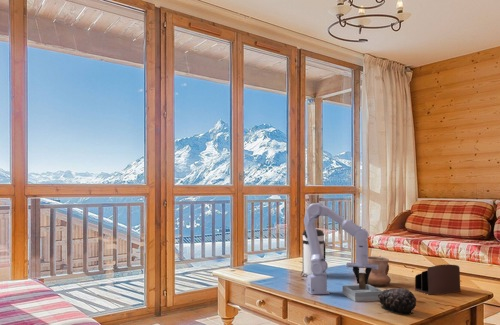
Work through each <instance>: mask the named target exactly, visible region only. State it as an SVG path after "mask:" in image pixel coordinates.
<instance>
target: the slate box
mask: <svg viewBox="0 0 500 325" xmlns="http://www.w3.org/2000/svg"><path fill="white" fill-rule="evenodd" d="M383 291H384V290H382V289H379V288H377V287H376V286H373V285H369V284H366V289H359V284H355V285H353V284H352V285H350V284H349V285H342V295H344V296H345V297H347V298H348V299H350V300H352V301H353V302H355V303H356V302H357V303H358V302H373V301H374V302H376V301H380V300H379V297H378V294H379V293H382V292H383Z"/></svg>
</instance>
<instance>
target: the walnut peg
mask: <svg viewBox="0 0 500 325" xmlns="http://www.w3.org/2000/svg"><path fill="white" fill-rule="evenodd" d="M365 281H366V274H365V272H359V284H358V285H359V289H366V285H367V284H365Z"/></svg>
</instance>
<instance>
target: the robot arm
mask: <svg viewBox="0 0 500 325" xmlns="http://www.w3.org/2000/svg"><path fill="white" fill-rule="evenodd" d="M305 210H306V211H305V215H304V218H303V225H304V228H305V229H304V230H306V233H307V238H308V242H309V246H310V251H311V255H312V257H311V263H312V264H311V271H312V274H311V275H307V276H306V291H307V292H308V293H309V295H330V293H331V292H329V291H328V285H327V284H328V282H327V281H328V276H327V274H328V273H327V271H326V270H327V269H328V263H327V261H326V258H325V259H324V256H323V255H322V253H321V248H320V244H319V240H318V236H317V231H316V229H317V227H316V223H315V222H316V221H317V219H318V218H319V217H320V216H321V217H328V218H330V219H331V220H333V221H334V222H335V223H337V224H338V225H339V226H341V229H342V230H343V231H344V232H346V233H348V234H349V235H350V236H351V237H354V239H355V262H346V263H345V264H346V268H352V272H353V273H354V276H355V279H356V285H359V273H360V269H365V270H364V273H365V274H366V281H365V284H366V285H369V284H368V278H369V275H370V272H371V270H372V269H377V270H378V265H375V264H368V256H369V241H368V239H369V232H368V231H367V230H366V228H362V226H361V225H360V226H359V225H358V224H356V223H354V220H353V219H348V218H347V219H345V218H343V217H342V216H341V215H339V213H337V212H335V211H334V210H333V209H331V208H330V207H329V206H327V205H325V204H323V203H322V202H316V203H314V202H313V203H310V204H309V205H308V207H307V208H306V209H305Z"/></svg>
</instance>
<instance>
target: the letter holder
mask: <svg viewBox="0 0 500 325" xmlns="http://www.w3.org/2000/svg"><path fill="white" fill-rule="evenodd" d="M460 271H461V270H460V266H459V265H457V264H438V265H433V266H430V267H427V270H424V271H422V272H421V273H418V274H416V275H415V277H414V282H415V283H414V284H415V285H414V291H415V292H419V293H422V294H424V293H425V295H427V294H428V295H427V296H432V295H433V294H435V295H442V294H444V295H445V294H453V293H461V292H462V291H461V272H460ZM433 296H434V295H433Z"/></svg>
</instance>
